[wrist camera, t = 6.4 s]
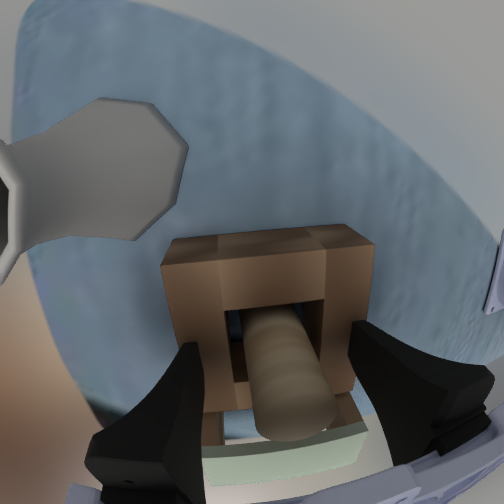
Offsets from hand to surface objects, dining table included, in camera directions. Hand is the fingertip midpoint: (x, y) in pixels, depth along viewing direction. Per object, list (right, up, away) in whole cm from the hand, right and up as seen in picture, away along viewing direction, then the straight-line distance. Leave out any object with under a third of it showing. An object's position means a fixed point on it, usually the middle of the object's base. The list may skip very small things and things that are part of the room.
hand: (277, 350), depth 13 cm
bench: (0, -5, +6) cm, 8 cm away
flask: (-8, +9, 0) cm, 12 cm away
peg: (0, +1, +4) cm, 4 cm away
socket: (0, +1, +4) cm, 4 cm away
